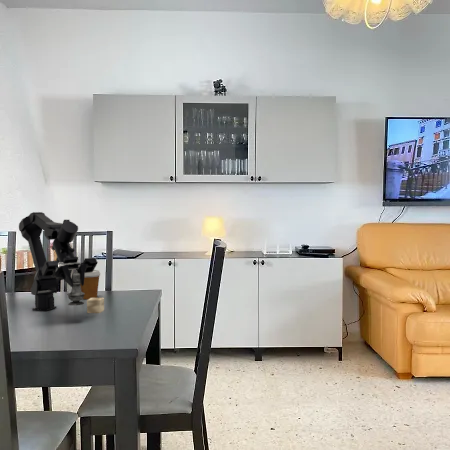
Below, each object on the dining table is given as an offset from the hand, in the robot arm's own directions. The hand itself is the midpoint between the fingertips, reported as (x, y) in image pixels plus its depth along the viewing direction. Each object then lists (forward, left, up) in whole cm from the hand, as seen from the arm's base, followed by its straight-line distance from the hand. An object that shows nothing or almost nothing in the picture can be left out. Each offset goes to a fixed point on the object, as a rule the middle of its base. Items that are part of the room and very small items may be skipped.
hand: (77, 285), depth 161 cm
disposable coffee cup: (-22, +40, -13) cm, 47 cm away
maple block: (-4, +17, -13) cm, 22 cm away
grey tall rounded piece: (-1, +1, -7) cm, 7 cm away
